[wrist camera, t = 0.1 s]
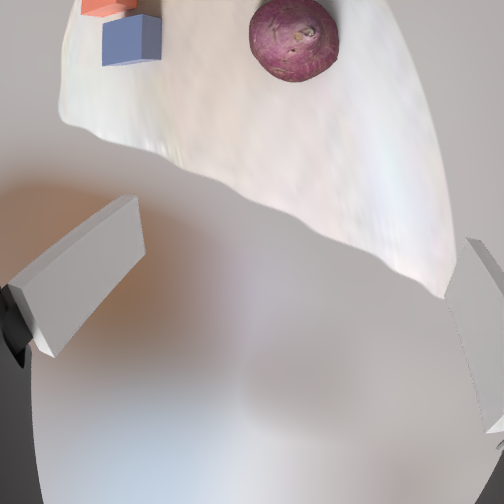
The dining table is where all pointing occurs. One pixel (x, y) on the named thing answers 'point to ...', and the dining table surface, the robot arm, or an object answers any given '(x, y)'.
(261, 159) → the dining table surface
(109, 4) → the red brick
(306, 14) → the vegetable
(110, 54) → the blue cube
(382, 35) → the dining table surface
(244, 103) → the dining table surface
